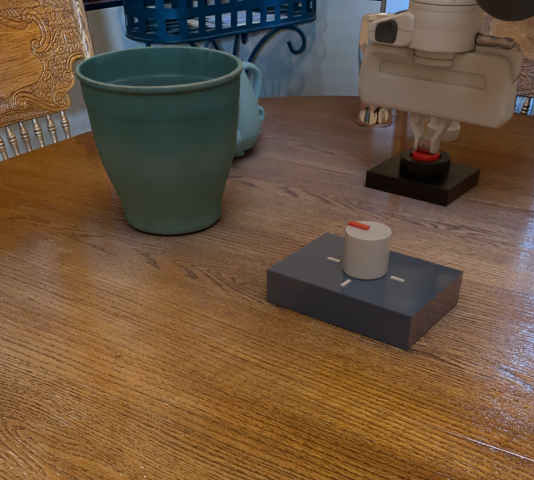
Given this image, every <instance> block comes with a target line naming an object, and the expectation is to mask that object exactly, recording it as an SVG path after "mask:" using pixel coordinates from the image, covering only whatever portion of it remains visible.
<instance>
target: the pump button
mask: <svg viewBox="0 0 534 480" xmlns="http://www.w3.org/2000/svg"><path fill="white" fill-rule="evenodd" d="M439 157H440V152H439V151H438V152H437V153H435V154H429V153H425V152H421V151H415V150H413V152H412V158H414V159H417V160H422V161H434V160H438V159H439Z"/></svg>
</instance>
